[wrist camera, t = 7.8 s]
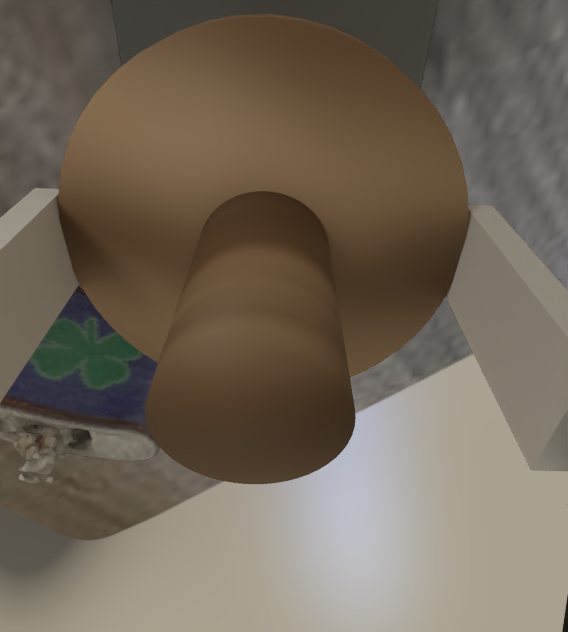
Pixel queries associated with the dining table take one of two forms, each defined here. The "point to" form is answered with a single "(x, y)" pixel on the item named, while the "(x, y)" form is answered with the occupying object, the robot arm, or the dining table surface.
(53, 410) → the flask
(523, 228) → the dining table surface
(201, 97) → the lid
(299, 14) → the mat
